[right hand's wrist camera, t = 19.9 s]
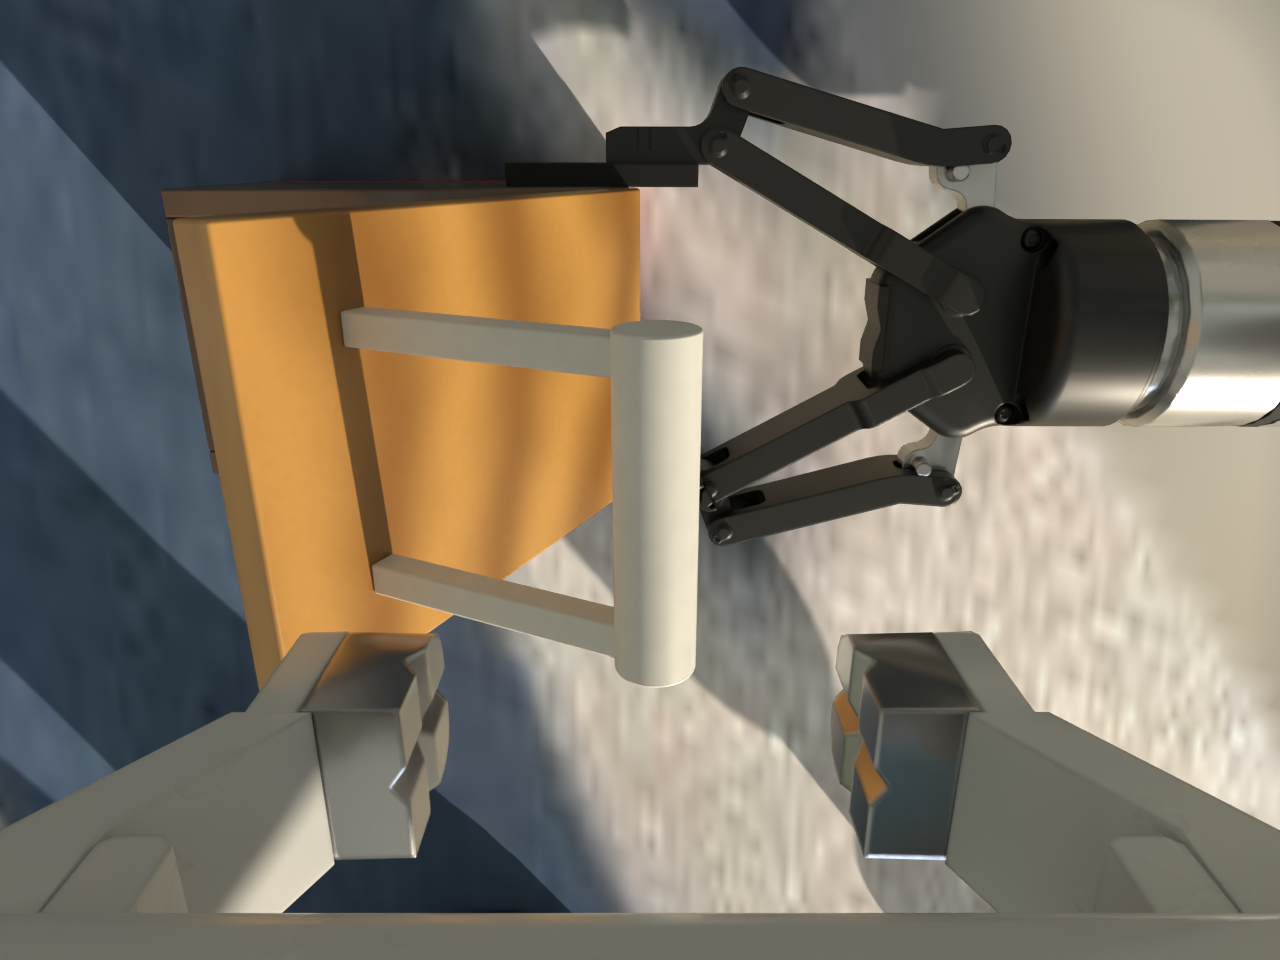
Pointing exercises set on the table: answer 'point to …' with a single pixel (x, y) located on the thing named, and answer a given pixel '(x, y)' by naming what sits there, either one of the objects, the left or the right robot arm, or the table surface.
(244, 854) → the right robot arm
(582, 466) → the lid
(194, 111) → the table surface
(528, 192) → the chest
